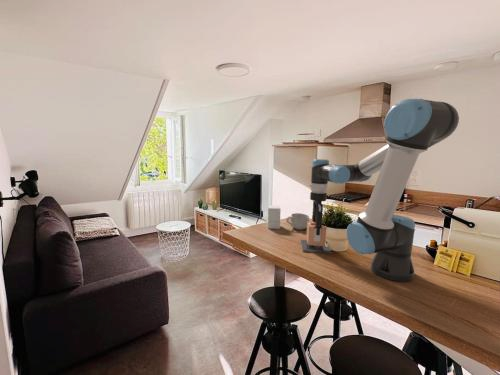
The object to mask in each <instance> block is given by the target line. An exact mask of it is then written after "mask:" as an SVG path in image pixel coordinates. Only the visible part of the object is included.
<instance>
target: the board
mask: <svg viewBox="0 0 500 375" xmlns="http://www.w3.org/2000/svg"><path fill="white" fill-rule="evenodd" d="M300 244H301V245H300V246H301V250H302V252H303V253H305V252H306V253H318V254H319V253H322V254H332V250H331V247H330V246H329V247H330V248H329V247H326V246H319V245H308V243H307V240H306V239H301V240H300Z"/></svg>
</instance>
